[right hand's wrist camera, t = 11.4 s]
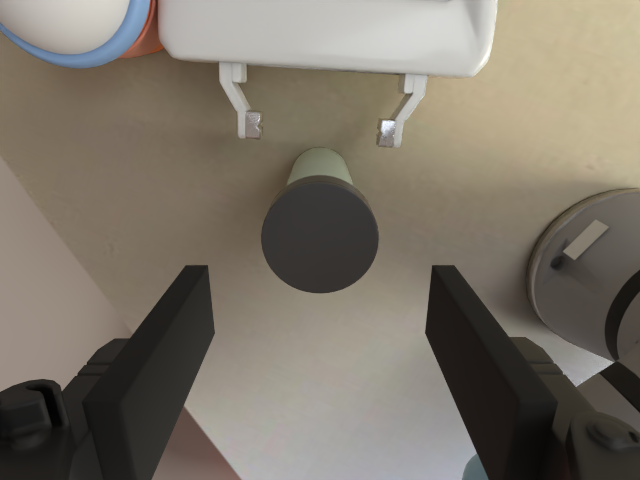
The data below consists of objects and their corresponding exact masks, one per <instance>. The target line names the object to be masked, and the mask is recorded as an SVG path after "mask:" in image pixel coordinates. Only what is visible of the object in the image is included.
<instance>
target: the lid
mask: <svg viewBox="0 0 640 480" xmlns="http://www.w3.org/2000/svg"><path fill="white" fill-rule="evenodd" d="M261 242H262V249H263V253H264V256H265V258H266V261H267V263H268V264H269V266H270V268H271V269H272V270H273V272H274V273H275V274H276V275H277V276H278V277H279V278H280V279H281V280H283V281H284V282H285V283H287V284H288V285H290V286H292V287H294V288H296V289H299V290H302V291H305V292H311V293H330V292H335V291H338V290H341V289H344V288H346V287H348V286H350V285H352V284H353V283H355V282H356V281H357V280H359V279H360V278H361V277H362V276H363V275H364V274H365V273H366V272H367V270H368V269H369V268H370V266H371V264H372V263H373V261H374V258H375V256H376V253H377V249H378V242H379V235H378V228H377V224H376V220H375V218H374V215H373V213H372V211H371V208H370V206H369V204H368V202H367V200H366V199H365V197H364V196H363V195H362V194H361V193H360V191H359V190H358V189H356V188H355V187H354V186H353V185H351V184H350V183H348V182H346V181H344V180H342V179H340V178H336V177H333V176H327V175H313V176H307V177H303V178H301V179H298V180H296V181H294V182H292V183H290V184H289V185H287V186H286V187H285V188H284V189H283V190H282V191H280V192H279V194H278V195H277V196H276V197H275V199H274V201H273V202H272V204H271V206H270V209H269V211H268V213H267V216H266V218H265V220H264V224H263V227H262V234H261Z"/></svg>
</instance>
